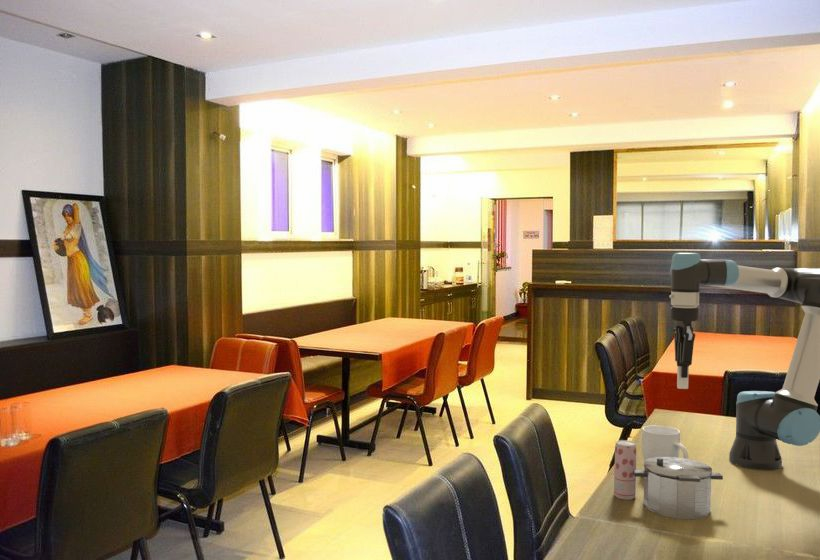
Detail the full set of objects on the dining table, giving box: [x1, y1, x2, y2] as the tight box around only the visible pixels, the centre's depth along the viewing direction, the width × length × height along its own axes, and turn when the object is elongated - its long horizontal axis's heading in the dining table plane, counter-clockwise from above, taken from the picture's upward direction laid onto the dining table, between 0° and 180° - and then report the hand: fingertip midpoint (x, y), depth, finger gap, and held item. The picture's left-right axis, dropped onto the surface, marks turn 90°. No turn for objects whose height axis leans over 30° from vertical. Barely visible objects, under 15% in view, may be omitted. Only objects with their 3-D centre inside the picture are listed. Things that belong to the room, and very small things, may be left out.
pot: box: [633, 467, 724, 520], centre depth 185 cm, size 22×16×10 cm
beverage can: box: [613, 439, 637, 501], centre depth 193 cm, size 6×6×15 cm
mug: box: [641, 424, 689, 462], centre depth 213 cm, size 15×11×13 cm
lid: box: [643, 457, 713, 482], centre depth 184 cm, size 17×20×3 cm
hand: (682, 388), depth 201 cm, fingers closed
